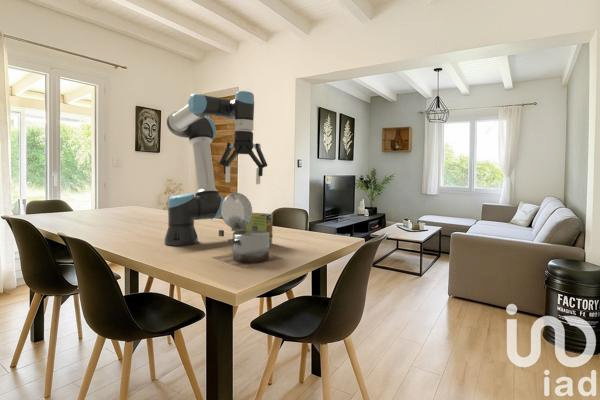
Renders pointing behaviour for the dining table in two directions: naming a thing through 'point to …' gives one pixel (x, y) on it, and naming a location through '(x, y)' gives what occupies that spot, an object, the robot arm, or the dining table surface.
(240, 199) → the lid
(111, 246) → the dining table surface
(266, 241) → the pot
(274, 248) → the dining table surface
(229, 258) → the board
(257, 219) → the protein box
